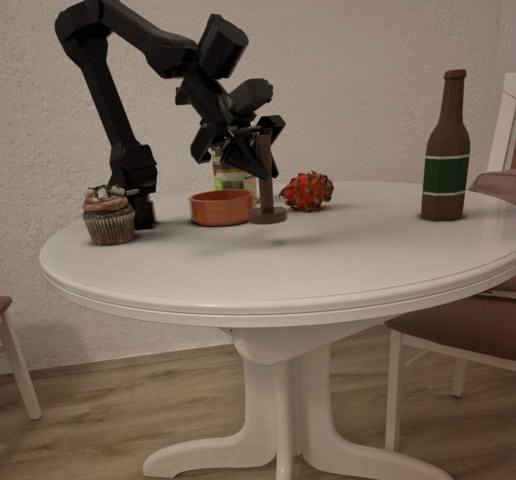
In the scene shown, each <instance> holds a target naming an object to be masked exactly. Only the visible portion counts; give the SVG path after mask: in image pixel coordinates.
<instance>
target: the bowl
mask: <svg viewBox="0 0 516 480" xmlns="http://www.w3.org/2000/svg"><path fill="white" fill-rule="evenodd" d="M187 200H188V207H189V216H190V220H191V221H192V222H195V223H196V224H197V225H200V226H203V227H225V226H232V225H233V226H234V225H240V224H242V223H243V224H244V223H245V222H249V219H248V211H249V210H251V209H254V208H257V207H256V205H257V204H256V203H255V193H254V191H251V190H245V189H225V190H215V189H214V190H208V191H207V190H206V191H203V192H198V193H194V194H192V195H189V197H188V199H187Z"/></svg>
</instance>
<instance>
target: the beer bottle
mask: <svg viewBox="0 0 516 480" xmlns="http://www.w3.org/2000/svg"><path fill="white" fill-rule="evenodd" d="M467 76H468V74H467V70H466V69H465V68H459V69H448V70H446V71H445V72H444V75H443V77H442V79H444V84H443V90H442V99H441V105H440V110H439V111H440V112H439V117H438V120H437V124H436V126H435V127H434V128H433V130H432V132H431V133H430V135H429V137H428V140H427V142H426V147H425V154H424V166H423V167H424V168H423V178H422V191H421V203H420V204H421V205H420V207H421V208H420V214H421V215H420V216H421V218H422V219H423V220H427V221H433V222H440V221H444V222H445V221H448V222H449V221H450V222H451V221H454V220H458V219H462V216H463V212H464V206H465V198H466V189H467V182H468V174H469V166H470V157H471V139H470V135H469V131H468V129H467V127H466V125H465V124H464V96H465V79H466V78H467Z"/></svg>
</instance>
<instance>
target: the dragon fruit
mask: <svg viewBox="0 0 516 480" xmlns="http://www.w3.org/2000/svg"><path fill="white" fill-rule="evenodd" d="M310 172H311V173H310ZM310 172H307V173H304V172H298V173H297V176H296V177H292V178H291V179H290V181H289V183H288V184H286V185H285V186H284V187H283V188H282V189H280V190H281V191H280V192H279V193H278V198H281V197H282V198H283V199H284V200H285V201H284V205H285V206H287V207H289V209H290V210H297V211H301V210H304V209H305V212H309V211H310V210H312V209H314V210H319V209H321V207H322V204H323V203H330V202H331V200H332V198H333V197H332V195H333V192H334V190H335V186H334V183H333V182H334V181H332V180H331V179H330V178H328V175H326V174H323V173H317V172H316V171H314V170H313V169H312V170H310Z"/></svg>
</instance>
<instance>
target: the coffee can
mask: <svg viewBox="0 0 516 480" xmlns="http://www.w3.org/2000/svg"><path fill="white" fill-rule="evenodd" d="M210 154H211V164H212V173H213V182H214V190H225V189H245V190H251V191H254V193H255V204H256V203H257V202H258V192H257V177H255V176H253V175H251V174H248V173H246V172H244V171H242V170H240V169H237V168H235V167H232V166H230V165H227V164H224V163H223V164H222V163H220V162H219V160H220V158H221V157H222V155H223V154H222V153H221V149H220V148H217V147H213V148H210Z"/></svg>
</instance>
